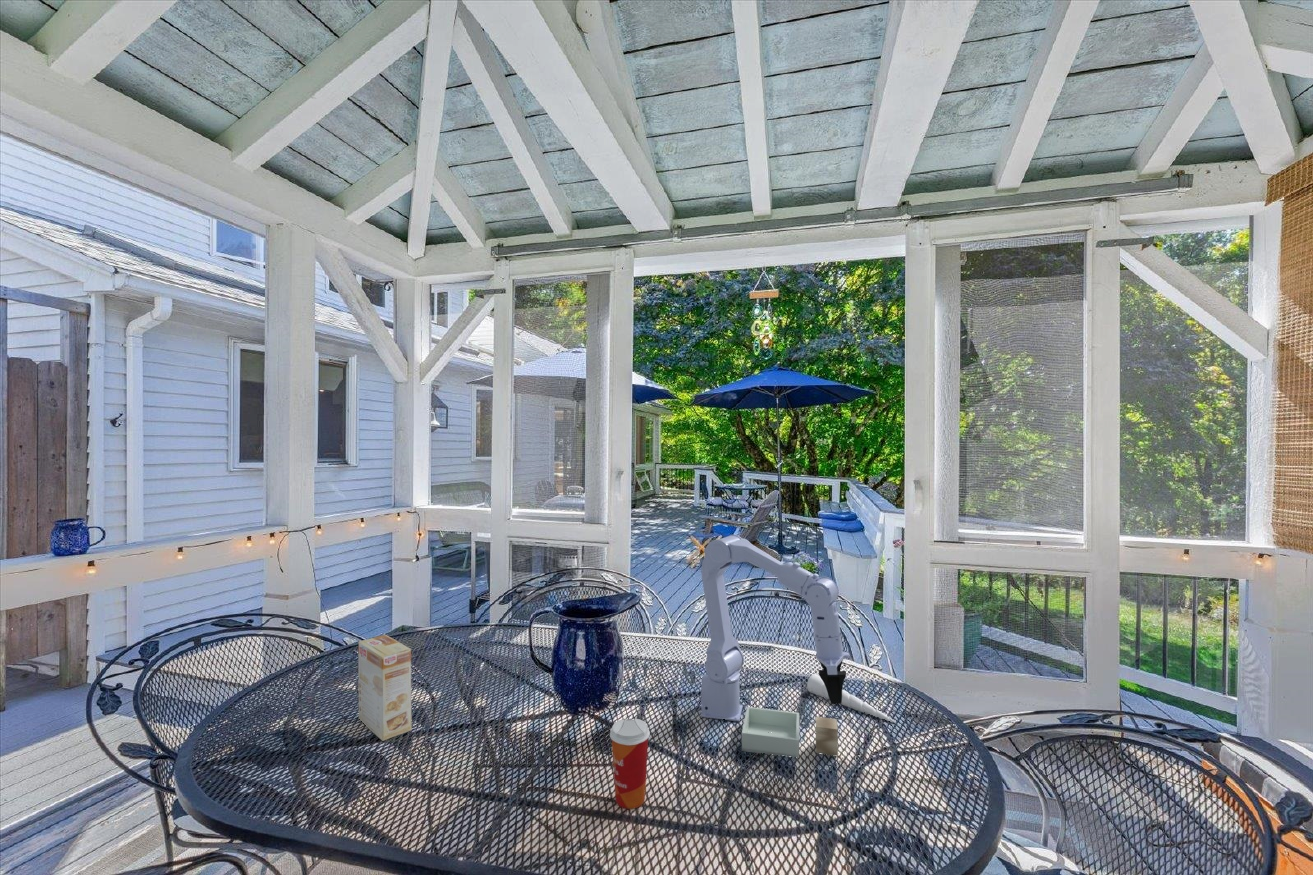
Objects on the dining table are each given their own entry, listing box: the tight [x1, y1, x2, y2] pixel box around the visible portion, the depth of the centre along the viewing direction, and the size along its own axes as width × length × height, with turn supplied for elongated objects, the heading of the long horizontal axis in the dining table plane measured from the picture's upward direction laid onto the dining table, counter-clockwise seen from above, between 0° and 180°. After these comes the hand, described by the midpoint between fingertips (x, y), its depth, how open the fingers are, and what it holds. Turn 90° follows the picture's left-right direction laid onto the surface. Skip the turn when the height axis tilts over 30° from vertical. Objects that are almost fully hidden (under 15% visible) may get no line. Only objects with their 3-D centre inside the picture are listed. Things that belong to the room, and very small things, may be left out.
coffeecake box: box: [357, 634, 413, 742], centre depth 136 cm, size 15×7×20 cm, turn 47°
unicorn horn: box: [806, 673, 896, 724], centre depth 144 cm, size 5×24×5 cm, turn 37°
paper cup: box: [609, 718, 651, 810], centre depth 108 cm, size 8×8×14 cm
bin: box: [741, 706, 800, 759], centre depth 128 cm, size 12×12×4 cm
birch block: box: [815, 716, 839, 756], centre depth 124 cm, size 4×4×6 cm
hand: (835, 696), depth 125 cm, fingers open, 7 cm apart
